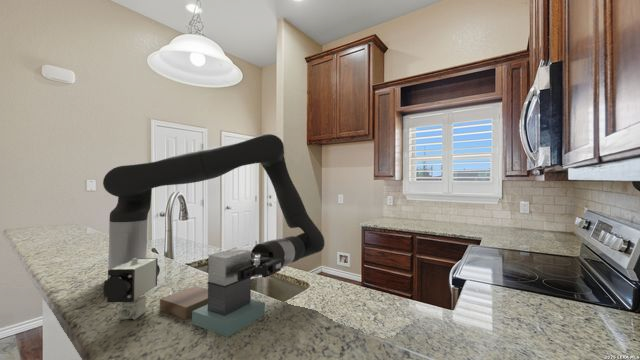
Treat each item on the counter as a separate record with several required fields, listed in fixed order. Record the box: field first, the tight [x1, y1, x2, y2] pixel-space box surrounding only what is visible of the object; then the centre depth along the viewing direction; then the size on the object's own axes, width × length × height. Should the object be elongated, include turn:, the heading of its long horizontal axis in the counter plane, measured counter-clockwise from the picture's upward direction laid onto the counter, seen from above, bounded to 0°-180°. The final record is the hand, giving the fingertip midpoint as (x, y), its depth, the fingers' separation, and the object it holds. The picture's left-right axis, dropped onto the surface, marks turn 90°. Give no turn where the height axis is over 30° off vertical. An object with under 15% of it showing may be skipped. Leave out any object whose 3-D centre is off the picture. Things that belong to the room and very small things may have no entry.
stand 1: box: [159, 285, 208, 321], centre depth 61 cm, size 9×9×2 cm
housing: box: [206, 248, 252, 316], centre depth 56 cm, size 5×7×11 cm
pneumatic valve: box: [102, 257, 161, 321], centre depth 57 cm, size 6×12×12 cm, turn 3°
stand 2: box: [191, 299, 266, 338], centre depth 56 cm, size 10×10×2 cm
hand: (223, 272), depth 54 cm, fingers open, 8 cm apart
